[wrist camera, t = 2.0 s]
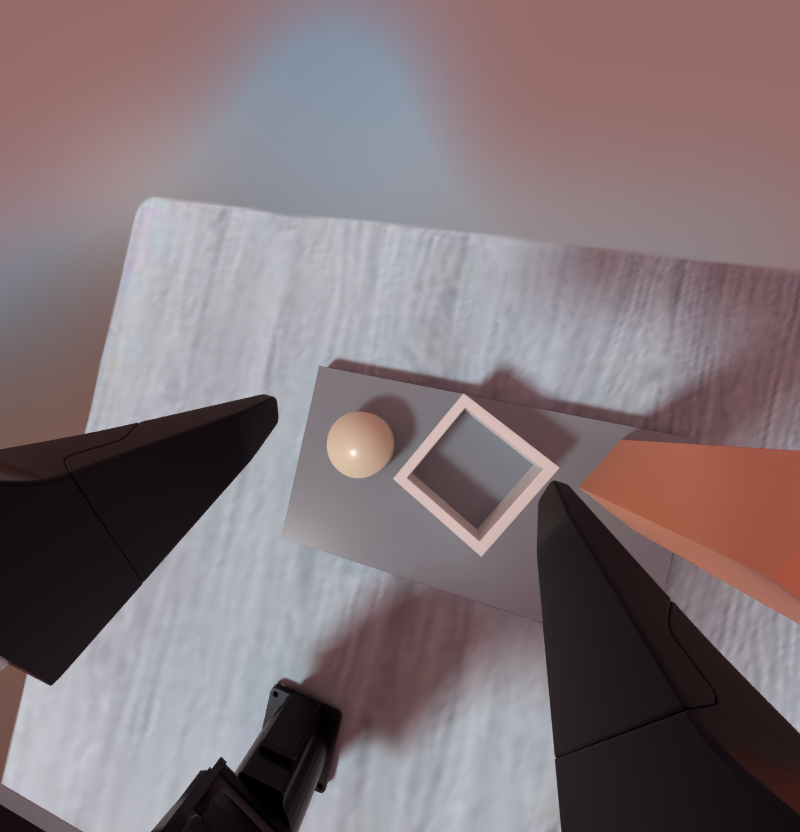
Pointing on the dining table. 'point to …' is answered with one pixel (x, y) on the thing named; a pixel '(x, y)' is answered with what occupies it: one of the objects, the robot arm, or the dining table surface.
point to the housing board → (447, 485)
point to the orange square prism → (713, 510)
